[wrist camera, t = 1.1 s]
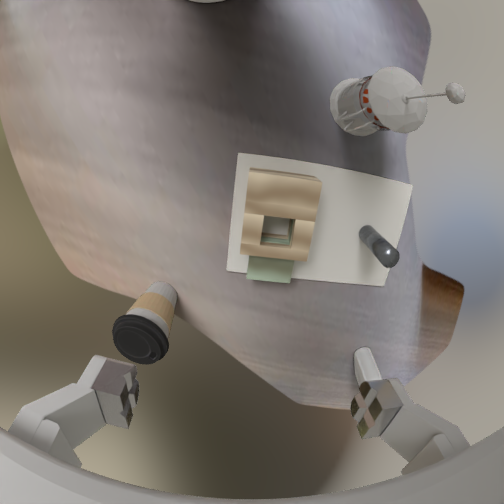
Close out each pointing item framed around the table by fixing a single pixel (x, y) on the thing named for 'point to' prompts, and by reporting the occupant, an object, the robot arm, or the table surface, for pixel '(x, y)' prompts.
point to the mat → (329, 220)
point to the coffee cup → (147, 325)
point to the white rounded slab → (365, 366)
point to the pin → (379, 246)
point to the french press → (384, 102)
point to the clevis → (285, 206)
